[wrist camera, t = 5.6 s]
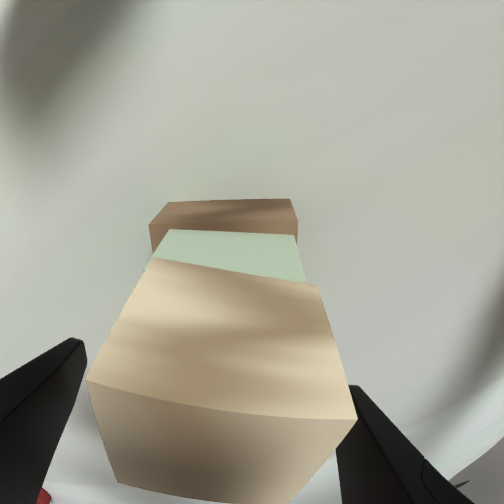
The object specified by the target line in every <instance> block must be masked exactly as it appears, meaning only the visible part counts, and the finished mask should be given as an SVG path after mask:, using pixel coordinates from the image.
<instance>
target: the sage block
mask: <svg viewBox="0 0 504 504" xmlns="http://www.w3.org/2000/svg"><path fill="white" fill-rule="evenodd" d="M153 257H158V258H163V259H168V260H174V261H179V262H185V263H190V264H196V265H201V266H207V267H212V268H218V269H223V270H229V271H235V272H240V273H246V274H252V275H258V276H263V277H269V278H275V279H281V280H287V281H293V282H299V283H305V284H306V276H305V272H304V269H303V265H302V262H301V258H300V255H299V251H298V247H297V244H296V241H295V237H294V235H285V234H266V233H246V232H225V231H202V230H177V229H169V231H168V232H167V234H166V235H165V237H164V238H163V240H162V241H161V243H160V244H159V246H158V247H157V249H156V250H155V252H154V253H153V255H152V256H151V258H150V260H149V261H148V263H147V264H146V266H145V267H144V269H143V273H144V272H145V270H146V268H147V267H148V265H149V263H150V262H151V260H152V258H153Z"/></svg>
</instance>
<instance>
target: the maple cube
mask: <svg viewBox="0 0 504 504" xmlns="http://www.w3.org/2000/svg"><path fill="white" fill-rule="evenodd" d="M85 380H86V385H87V389H88V393H89V396H90V400H91V404H92V408H93V411H94V415H95V418H96V421H97V425H98V428H99V431H100V434H101V438H102V441H103V444H104V447H105V449H106V452H107V455H108V458H109V461H110V464H111V466H112V469H113V471H114V474H115V477H116V479H117V482H118V483H122V484H126V485H129V486H133V487H137V488H141V489H145V490H150V491H154V492H159V493H163V494H168V495H174V496H179V497H185V498H191V499H198V500H205V501H213V502H222V503H232V504H288V503H289V502H290V501H291V500H292V499H293V498H294V497H295V496H296V495H297V493H298V492H299V491H300V490H301V489H302V488H303V487H304V486H305V485H306V484H307V482H308V481H309V480H310V479H311V478H312V477H313V476H314V474H315V473H316V472H317V471H318V470H319V469H320V467H321V466H322V465H323V464H324V463H325V461H326V460H327V459H328V458H329V457H330V455H331V454H332V453H333V452H334V450H335V449H336V448H337V446H338V445H339V444H340V443H341V441H342V440H343V439H344V437H345V436H346V435H347V433H348V432H349V431H350V429H351V428H352V427H353V425H354V424H355V423H356V421H357V420H358V418H357V415H356V411H355V407H354V404H353V400H352V397H351V393H350V390H349V386H348V383H347V380H346V376H345V373H344V369H343V366H342V363H341V360H340V356H339V353H338V350H337V346H336V343H335V340H334V337H333V334H332V331H331V327H330V324H329V321H328V318H327V315H326V312H325V309H324V306H323V303H322V300H321V297H320V294H319V291H318V288H317V285H311V284H305V283H299V282H293V281H287V280H281V279H275V278H269V277H263V276H258V275H252V274H246V273H240V272H235V271H229V270H223V269H218V268H212V267H207V266H201V265H196V264H190V263H185V262H179V261H174V260H168V259H163V258H158V257H153V258H152V260H151V262H150V263H149V265H148V267H147V268H146V270H145V272H144V273H143V275H142V277H141V278H140V280H139V282H138V283H137V285H136V287H135V289H134V290H133V292H132V294H131V295H130V297H129V299H128V301H127V302H126V304H125V306H124V308H123V309H122V311H121V313H120V315H119V317H118V318H117V320H116V322H115V324H114V326H113V327H112V329H111V331H110V333H109V335H108V337H107V338H106V340H105V342H104V344H103V346H102V348H101V350H100V352H99V354H98V355H97V357H96V359H95V361H94V363H93V365H92V367H91V369H90V371H89V373H88V375H87V377H86V379H85Z"/></svg>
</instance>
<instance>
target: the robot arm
mask: <svg viewBox="0 0 504 504" xmlns="http://www.w3.org/2000/svg"><path fill="white" fill-rule="evenodd" d="M86 366H87V356H86V351H85V345H84V342H83V341H82V340H80V339H76V338H73V337H71V338H69V339H67V340H65V341H63V342H62V343H60V344H58V345H57V346H55V347H53V348H52V349H50V350H48V351H47V352H45V353H43V354H41V355H40V356H38V357H36V358H35V359H33V360H31V361H30V362H28V363H26V364H25V365H23V366H21V367H20V368H18V369H16V370H15V371H13V372H11V373H10V374H8V375H6V376H5V377H3V378H1V379H0V504H36V503H37V500H38V497H39V494H40V491H41V488H42V485H43V482H44V479H45V477H46V474H47V471H48V468H49V466H50V463H51V460H52V458H53V455H54V453H55V450H56V448H57V445H58V443H59V440H60V438H61V435H62V433H63V430H64V428H65V426H66V423H67V421H68V418H69V416H70V414H71V412H72V409H73V407H74V404H75V401H76V397H77V394H78V391H79V388H80V385H81V382H82V378H83V375H84V372H85V369H86ZM348 386H349V390H350V393H351V397H352V400H353V404H354V407H355V411H356V415H357V418H358V420H357V421H356V423H355V424H354V425H353V427H352V428H351V429H350V431H349V432H348V433H347V435H346V436H345V437H344V439H343V440H342V441H341V443H340V444H339V445H338V446H337V448H336V457H337V464H338V472H339V480H340V488H341V497H342V504H475V503H473V502H472V501H471V500H470V499H468V498H467V497H466V496H465V495H463V494H462V493H461V492H460V491H459V490H458V489H457V488H455V487H454V486H453V485H452V484H451V483H450V482H449V481H448V480H446V479H445V478H444V477H443V476H442V475H441V474H440V473H439V472H438V471H437V470H436V469H435V468H434V467H433V466H432V465H431V464H430V463H429V462H428V460H427V459H424V456H423V455H422V454H421V453H420V452H419V451H418V450H417V449H416V448H415V447H414V445H413V444H412V443H411V442H410V441H409V440H408V439H407V438H406V437H405V436H404V435H403V434H402V432H401V431H400V430H399V429H398V428H397V427H396V426H395V425H394V424H393V423H392V422H391V421H390V419H389V418H388V417H387V416H386V415H385V414H384V413H383V412H382V411H381V410H380V409H379V407H378V406H377V405H376V404H375V403H374V402H373V401H372V400H371V399H370V398H369V396H368V395H367V394H366V393H365V392H364V391H363V390H362V389H361V388H360V387H359V386H357V385H348Z"/></svg>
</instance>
